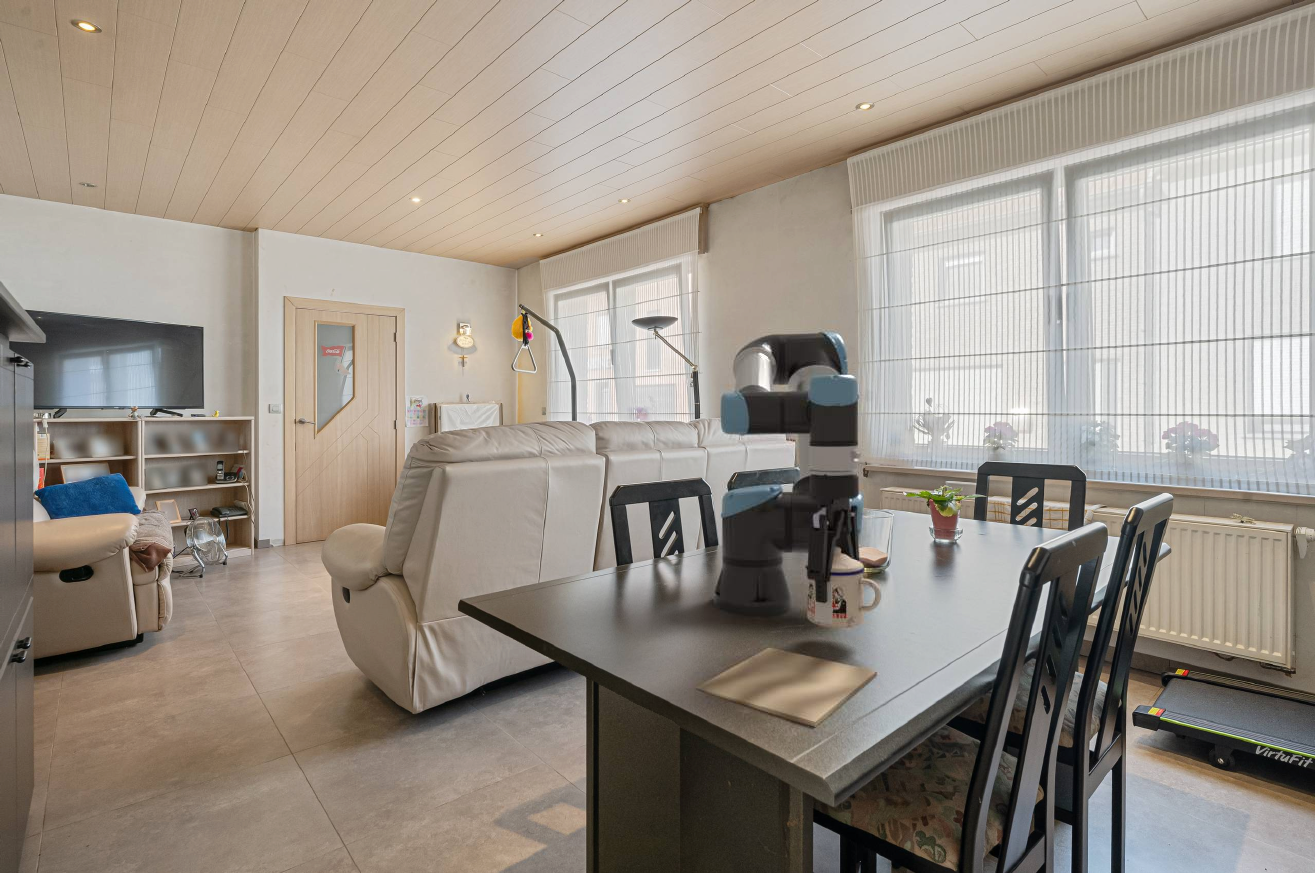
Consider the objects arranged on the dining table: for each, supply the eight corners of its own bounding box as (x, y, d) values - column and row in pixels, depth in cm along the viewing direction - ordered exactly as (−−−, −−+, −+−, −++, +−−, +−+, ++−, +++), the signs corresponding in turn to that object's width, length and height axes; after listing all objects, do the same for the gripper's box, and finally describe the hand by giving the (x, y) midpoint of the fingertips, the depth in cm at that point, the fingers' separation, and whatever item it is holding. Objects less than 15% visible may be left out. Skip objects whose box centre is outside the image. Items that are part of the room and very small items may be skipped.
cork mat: (695, 692, 86) (695, 687, 86) (769, 651, 102) (769, 647, 102) (815, 726, 76) (815, 721, 76) (877, 675, 91) (876, 671, 91)
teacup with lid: (795, 621, 104) (794, 548, 103) (821, 608, 110) (821, 540, 110) (868, 637, 96) (868, 558, 95) (892, 621, 103) (891, 548, 102)
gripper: (829, 479, 93) (830, 637, 94) (880, 469, 109) (880, 604, 110) (782, 476, 98) (783, 627, 98) (837, 467, 114) (838, 597, 114)
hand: (834, 615), depth 104 cm, fingers closed on teacup with lid, 8 cm apart
